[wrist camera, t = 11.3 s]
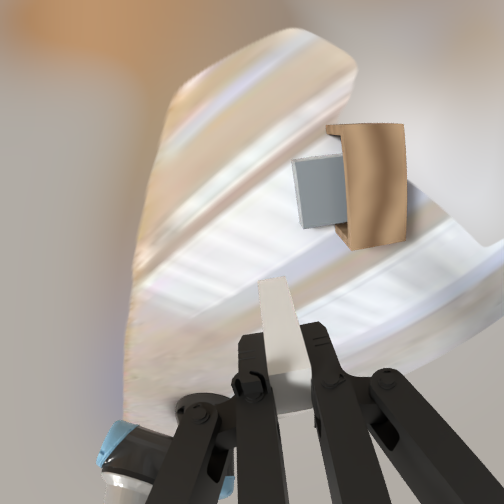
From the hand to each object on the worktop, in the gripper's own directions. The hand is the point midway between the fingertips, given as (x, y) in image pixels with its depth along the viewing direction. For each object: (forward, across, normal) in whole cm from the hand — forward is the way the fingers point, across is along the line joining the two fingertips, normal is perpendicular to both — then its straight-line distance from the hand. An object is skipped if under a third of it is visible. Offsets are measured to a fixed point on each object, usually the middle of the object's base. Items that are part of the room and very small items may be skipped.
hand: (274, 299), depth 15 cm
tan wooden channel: (+24, +15, +1) cm, 29 cm away
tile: (+25, +12, 0) cm, 28 cm away
